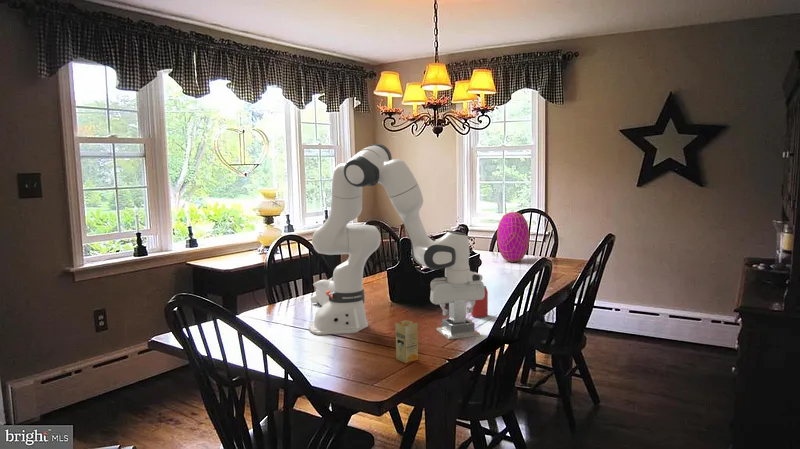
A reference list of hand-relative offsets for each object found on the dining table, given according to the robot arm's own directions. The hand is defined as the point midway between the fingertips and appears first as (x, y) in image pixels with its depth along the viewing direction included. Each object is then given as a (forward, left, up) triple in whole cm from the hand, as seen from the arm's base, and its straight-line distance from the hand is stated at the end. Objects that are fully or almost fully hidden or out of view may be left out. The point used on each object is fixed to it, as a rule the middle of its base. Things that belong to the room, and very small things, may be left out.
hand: (457, 313), depth 205 cm
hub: (0, 0, -7) cm, 7 cm away
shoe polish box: (-26, -19, -7) cm, 33 cm away
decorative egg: (+88, +116, -7) cm, 146 cm away
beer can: (+17, +17, -7) cm, 25 cm away
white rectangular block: (0, 0, -6) cm, 6 cm away
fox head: (-37, +57, -7) cm, 68 cm away
